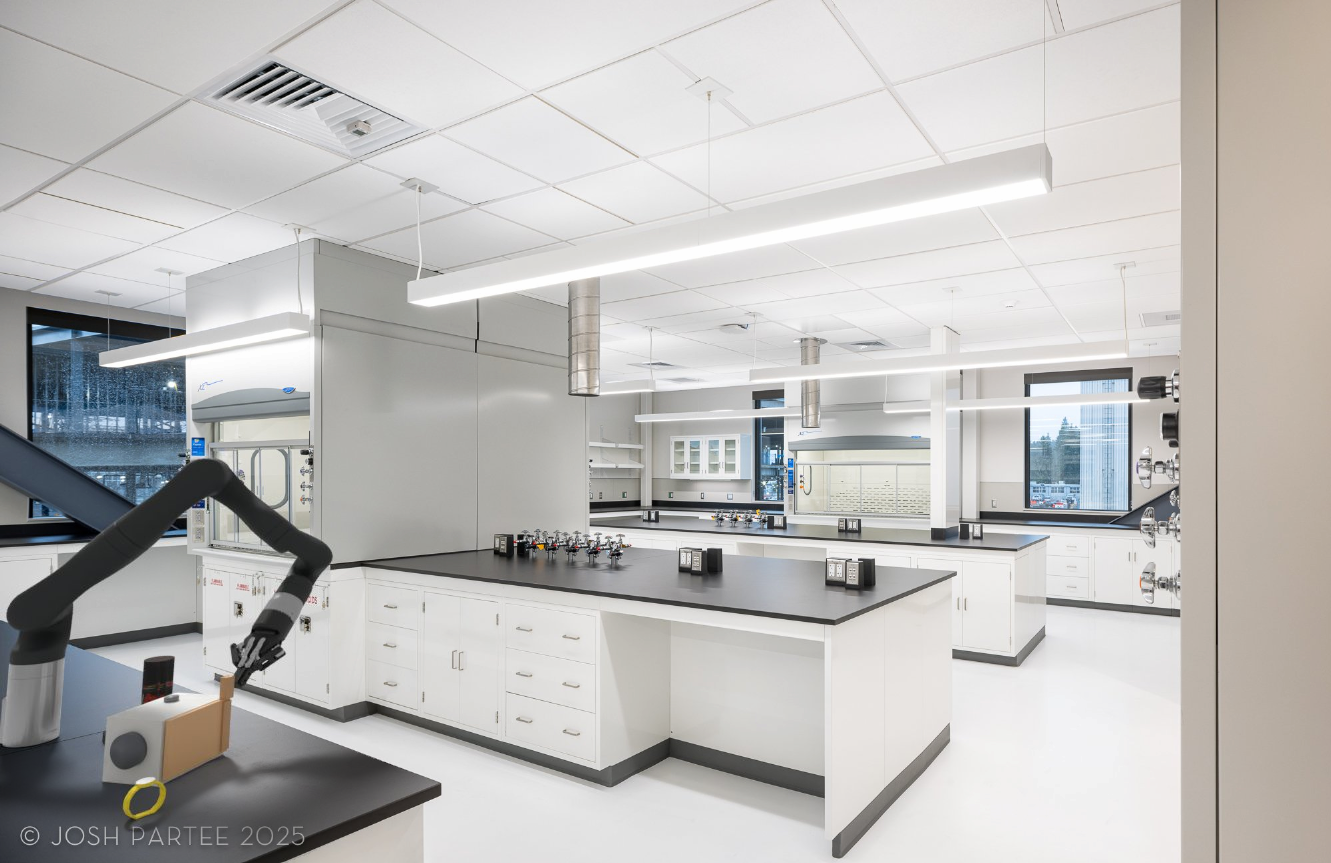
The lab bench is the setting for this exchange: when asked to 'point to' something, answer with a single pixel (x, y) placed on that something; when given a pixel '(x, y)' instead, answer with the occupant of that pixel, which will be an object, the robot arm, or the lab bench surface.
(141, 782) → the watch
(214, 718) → the side door
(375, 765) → the lab bench surface
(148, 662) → the deodorant
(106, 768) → the box
